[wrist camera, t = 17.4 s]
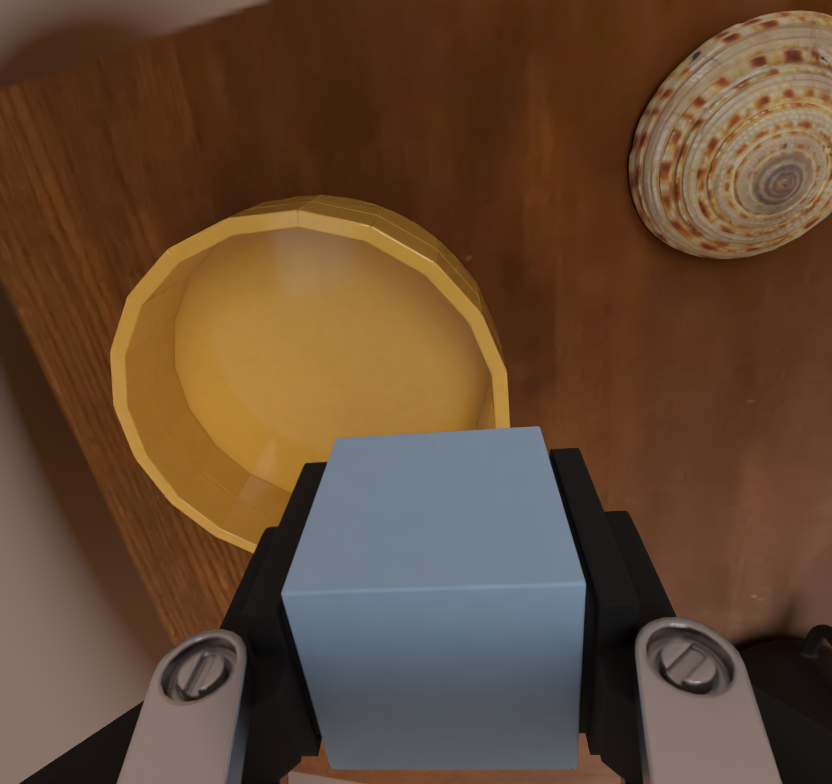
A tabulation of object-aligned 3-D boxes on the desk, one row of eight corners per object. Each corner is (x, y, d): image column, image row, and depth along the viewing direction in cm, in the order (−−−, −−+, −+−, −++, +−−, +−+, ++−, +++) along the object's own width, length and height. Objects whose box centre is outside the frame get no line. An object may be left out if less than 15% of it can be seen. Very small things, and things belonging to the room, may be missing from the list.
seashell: (961, 137, 19) (808, 298, 19) (811, 170, 24) (690, 296, 24) (861, -84, 17) (683, 98, 16) (718, 7, 22) (582, 145, 22)
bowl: (119, 218, 24) (44, 240, 20) (487, 172, 22) (497, 185, 18) (220, 510, 31) (182, 576, 27) (506, 492, 30) (517, 558, 25)
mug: (824, 719, 36) (904, 846, 30) (684, 716, 37) (733, 840, 31) (883, 585, 31) (995, 705, 25) (718, 585, 32) (786, 702, 25)
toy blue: (335, 437, 11) (279, 593, 7) (539, 425, 10) (587, 583, 7) (364, 585, 13) (329, 770, 9) (540, 580, 12) (577, 770, 9)
